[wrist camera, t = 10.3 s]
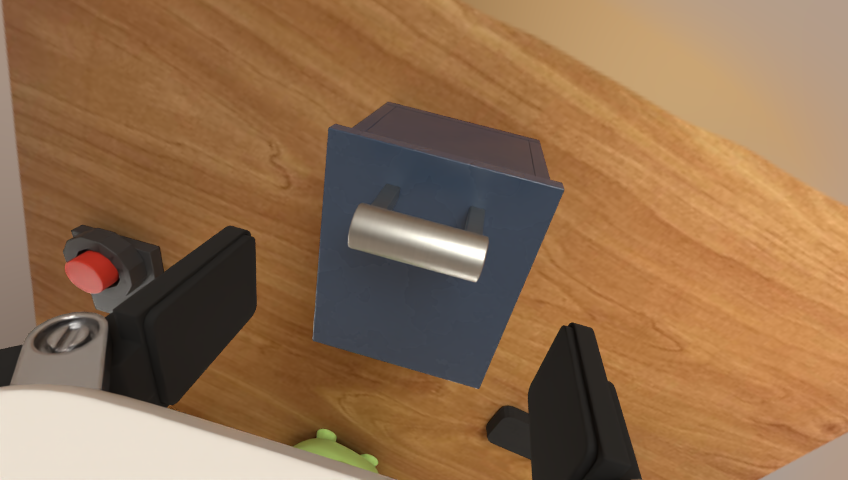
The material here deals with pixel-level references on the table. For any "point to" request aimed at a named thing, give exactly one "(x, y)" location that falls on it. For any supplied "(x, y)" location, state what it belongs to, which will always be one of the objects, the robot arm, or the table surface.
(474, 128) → the lidded box
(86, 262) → the button
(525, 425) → the remote control
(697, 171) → the table surface
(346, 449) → the teapot
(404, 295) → the blue drawer with handle
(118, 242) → the switch block
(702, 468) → the table surface
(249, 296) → the robot arm
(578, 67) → the table surface
